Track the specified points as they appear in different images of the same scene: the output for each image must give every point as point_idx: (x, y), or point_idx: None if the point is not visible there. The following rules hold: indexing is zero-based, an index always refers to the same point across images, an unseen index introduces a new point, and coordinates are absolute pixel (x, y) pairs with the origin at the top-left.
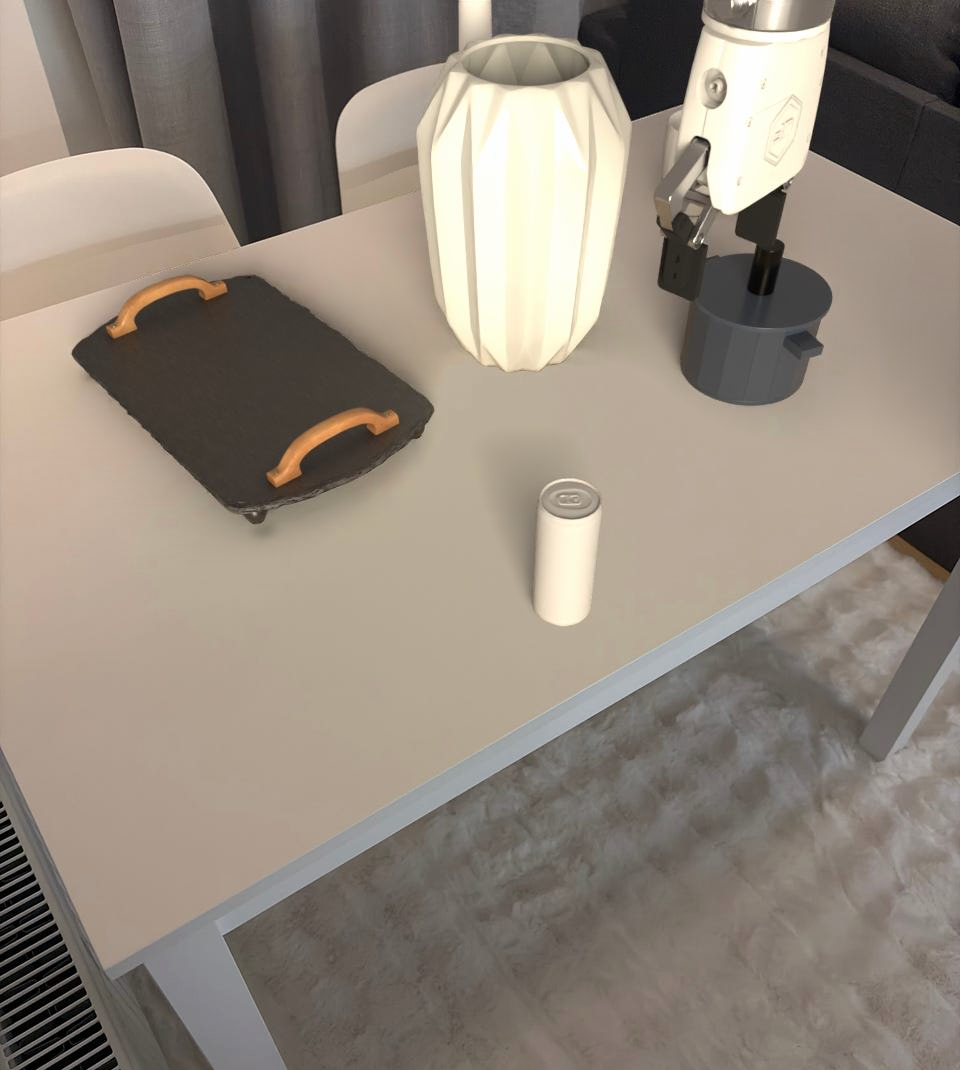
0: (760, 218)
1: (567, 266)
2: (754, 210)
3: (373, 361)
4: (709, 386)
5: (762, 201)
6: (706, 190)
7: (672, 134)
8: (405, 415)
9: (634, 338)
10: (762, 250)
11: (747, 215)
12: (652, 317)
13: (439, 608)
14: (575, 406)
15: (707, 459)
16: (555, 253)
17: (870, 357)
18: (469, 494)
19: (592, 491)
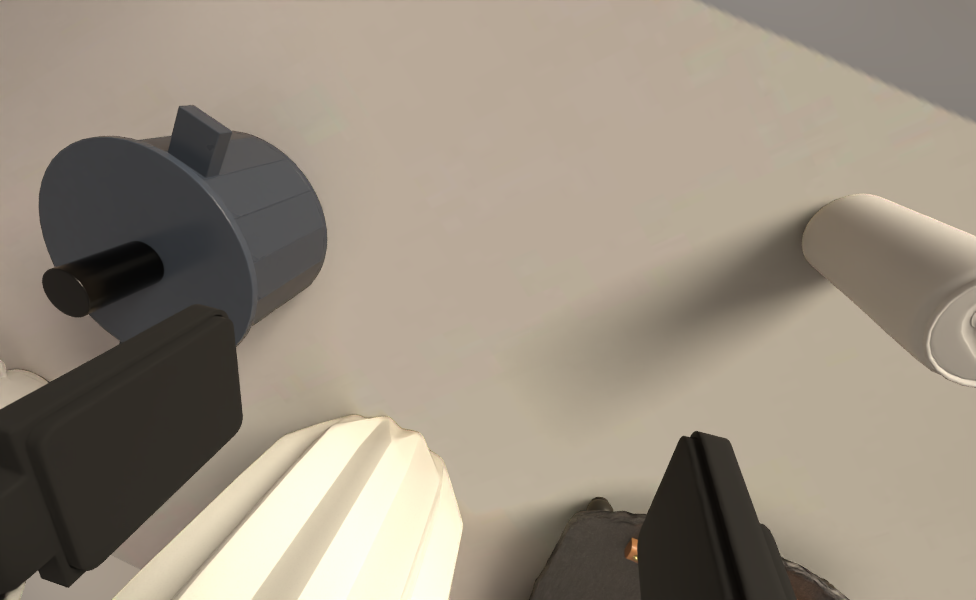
0: (164, 415)
1: (350, 539)
2: (150, 455)
3: (540, 590)
4: (319, 243)
5: (103, 471)
6: (10, 398)
7: None
8: (613, 536)
9: (290, 361)
10: (90, 300)
11: (178, 454)
12: (242, 357)
13: (904, 369)
14: (448, 373)
15: (444, 183)
16: (351, 573)
17: (97, 63)
18: (671, 417)
19: (955, 304)
